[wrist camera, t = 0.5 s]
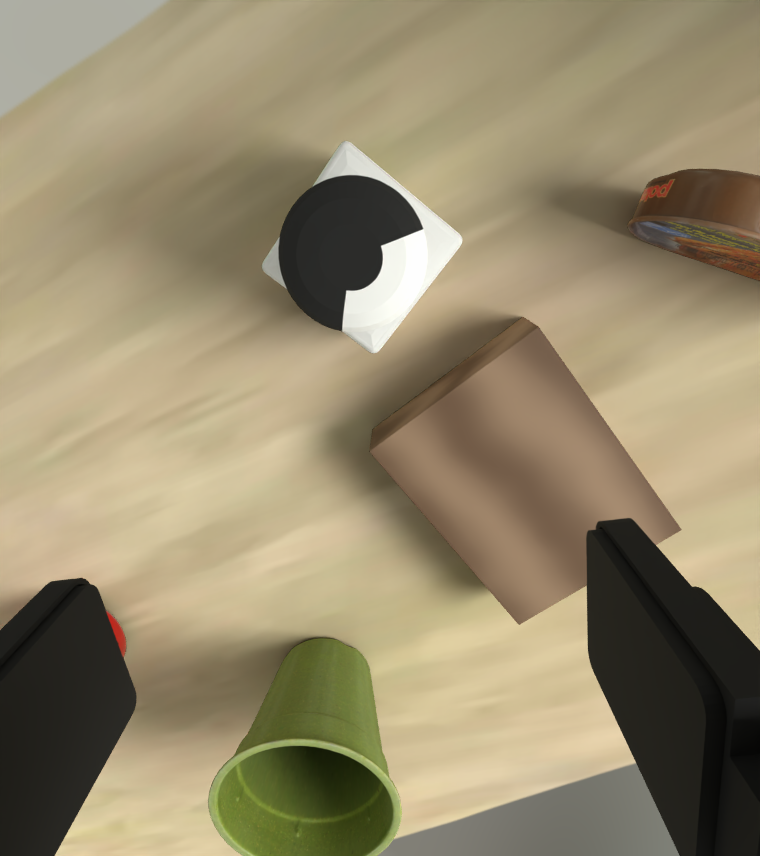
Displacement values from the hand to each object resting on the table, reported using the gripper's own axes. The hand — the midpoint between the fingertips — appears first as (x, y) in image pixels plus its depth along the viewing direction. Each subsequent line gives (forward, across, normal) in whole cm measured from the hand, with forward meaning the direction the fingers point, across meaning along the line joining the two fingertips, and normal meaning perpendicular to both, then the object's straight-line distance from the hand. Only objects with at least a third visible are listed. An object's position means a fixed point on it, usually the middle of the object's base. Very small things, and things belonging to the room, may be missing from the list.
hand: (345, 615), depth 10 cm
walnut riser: (+25, -8, +9) cm, 28 cm away
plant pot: (+26, +8, +25) cm, 37 cm away
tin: (+25, -22, -4) cm, 33 cm away
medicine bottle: (+26, 0, -6) cm, 26 cm away
